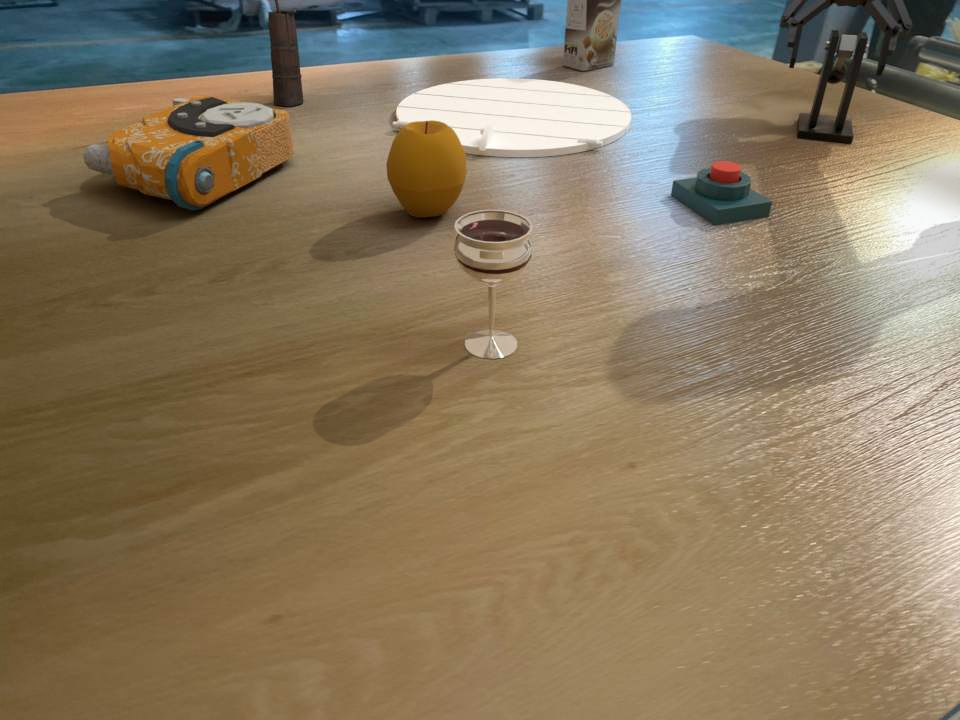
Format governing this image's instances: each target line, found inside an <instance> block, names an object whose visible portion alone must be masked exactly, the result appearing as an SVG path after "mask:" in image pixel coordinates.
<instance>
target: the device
mask: <svg viewBox="0 0 960 720" xmlns="http://www.w3.org/2000/svg"><path fill="white" fill-rule="evenodd" d="M107 143H108V144H107V145H103V144H97V143H96V144H95V143H93V144H90V145H89V146H87V147H86V149H85V150H84V153H83V163H84V164H85V165H86V166H87V168H88V169H89V170H92V171H95V172H97V173H102V174H108V175H111V176H114V178H115V180H116V184H117V185H119V186H121V187H125V188H129V189H133V190H138V191H139V192H140V193H142V194H143V195H147V196H151V197H155V198H160V199H164V200H168V201H169V200H170V201H173V202H174V204H175V205H176V206H177V207H179V208H182V209H184V210H185V209H186V210H189V211H199V210H202V209H205V208H206V207H208V206H209V205H211V204H213V203H215V202H216V201H217V200H220V199H221V198H223V197H225V196H227V195H228V194H231V193H232V192H235V191H237V190H238V189H240V188H242V187H244V186H246V185H248V184H250V183H251V182H253V181H255V180H257V179H259V178H261V177H262V175H263V174H265V173H267V172H269V171H271V170H273V169H274V168H276V167H277V166H279V165H281V164H283V163H285V162H286V161H288V160H291V159H292V158H293V157H294V154H295V153H294V151H295V150H294V144H293V137H292V130H291V122H290V115H289V113H288V112H287V111H286V110H284V109H278V108H272V107H270V106H267V105H265V104H261V103H256V102H247V101H241V100H234V99H228V98H223V97H217V96H211V95H203V94H202V95H197V96H193V97H191V98H190V99H187V98H180V97H177V98H174V99H172V106H169V107H167V108H165V109H162V110H159V111H156V112H153V113H151V114H148V115H146V116H143V117H142V120H141V121H139V122H136V123H133V124H130V125H128V126H125V127H123V128H119V129H118V130H115V131H114V132H110V133H109V132H108V139H107Z"/></svg>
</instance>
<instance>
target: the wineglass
mask: <svg viewBox="0 0 960 720" xmlns="http://www.w3.org/2000/svg"><path fill="white" fill-rule="evenodd" d="M453 228H454V229H455V231H456V233H457V235H456V237H455V241H454V246H453V251H454V255H455V256H454V257H455V259H456V261H457V264H458V266H459V268H460V269H461V270H462V271H463V272H464V273H466V274H467V275H468V276H469V277H470V278H472V279H473V280H474V281H476V282H479V283H482V284H484V285H485V286H486V287H487V300H488V301H487V302H488V303H487V304H488V328H487V329H481V330H477V331H475V332H472V333H470V334H469V335H468V336H467V337H466V339H465V340H464V348H465V349H466V351H467V352H469V353H470V354H471V355H474V356H475V357H478V358H482V359H489V360H490V359H491V360H494V359H496V360H497V359H502V358H503V359H504V358H505V357H507V356H508V357H509V356H510V355H512V354H513V353H514V352H515V351H516V350H517V348H518V341H517V339H516V337H515V336H513V335H512V334H511V333H509V332H506V331H504V330H500V329H495V318H496V317H495V316H496V301H497V287H498V286H500V285H501V284H504V283H508V282H510V281H512V280H513V279H515V278H516V277H518V276H519V275H520V274H522V273H523V272H524V270H526V268H527V266H528V264H529V263H530V261H531V259H532V254H533V243H532V239H531V237H530V236H529V235H530V234H531V233H532V231H533V223H532V221H531V220H530V219H529V218H527V217H526V216H524V215H523V214H520V213H517V212H514V211H509V210H504V209H481V210H475V211H471V212H467V213H466V214H463V215H462V216H460V217H458V218H457V219H456V220H455V222H454V227H453Z"/></svg>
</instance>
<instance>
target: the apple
mask: <svg viewBox="0 0 960 720" xmlns="http://www.w3.org/2000/svg"><path fill="white" fill-rule="evenodd" d="M389 149H390V150H389V153H388V155H387V159H386V165H385V166H386V174H387V175H386V176H387V177H386V178H387V180H388V182H389V185H390V187H391V190H392V192H393V194H394V196H395V197H396V199H397V200H398V202H399V203H400V205H401V206H402V208H403V209H404V210H405V212H407V213H408V214H409V215H411V216H413V217H415V218H433V217H439V216H442V215H444V214H445V213H446V212H448V211H449V210H450V209H451V208H452V207H453V206H454V204H455V203H456V201H457V200H458V199H459V197H460V195H461V193H462V191H463V189H464V188H463V187H464V185H465V181H466V177H467V174H468V168H467V167H468V166H467V156H466V153H465V151H464V149H463V147H462V145H461V143H460V140H459V138H458V136H457V135H456V133H455V132H454V130H453V129H452V128H451V127H449V126H448V125H446V124H445V123H442V122H440V121H433V120H431V121H417V122H411V123H409V124H407V125H406V126H404V127H403V128H402V129H401V128H400V130H398V132H397V134H396V136H395V137H394V139H393V140H392V143H391V145H390V148H389Z"/></svg>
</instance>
